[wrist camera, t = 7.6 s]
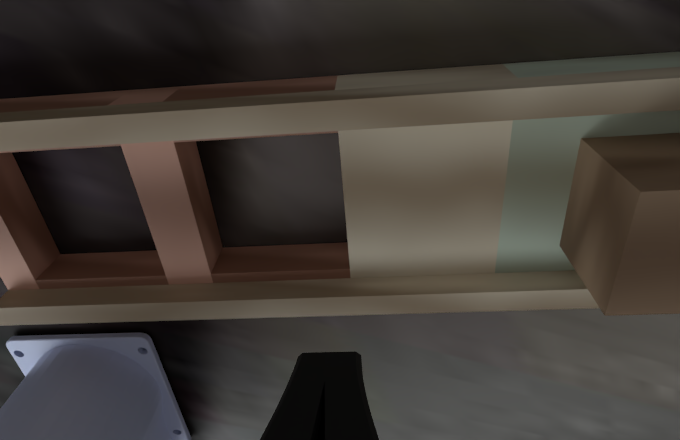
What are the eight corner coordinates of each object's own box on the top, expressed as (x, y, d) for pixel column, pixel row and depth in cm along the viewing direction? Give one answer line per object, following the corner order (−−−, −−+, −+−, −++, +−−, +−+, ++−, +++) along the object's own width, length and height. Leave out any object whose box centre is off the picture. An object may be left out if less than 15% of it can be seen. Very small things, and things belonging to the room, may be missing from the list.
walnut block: (678, 240, 18) (753, 311, 14) (559, 245, 18) (604, 315, 15) (718, 130, 16) (818, 183, 12) (580, 138, 16) (640, 191, 12)
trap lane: (663, 256, 21) (714, 310, 18) (43, 279, 23) (-5, 330, 20) (736, 47, 16) (821, 71, 13) (-49, 102, 18) (-129, 133, 15)
